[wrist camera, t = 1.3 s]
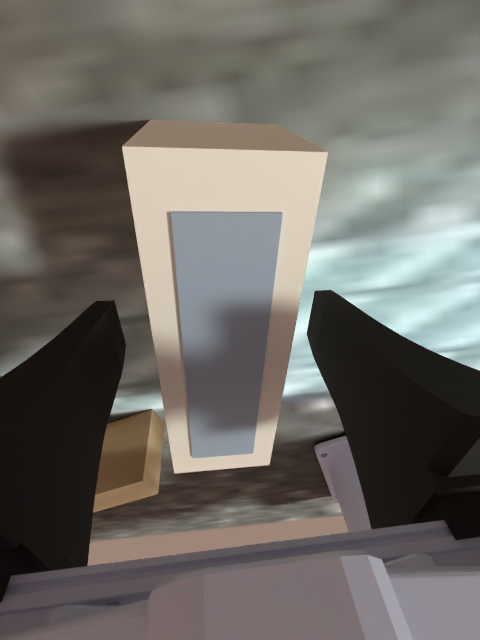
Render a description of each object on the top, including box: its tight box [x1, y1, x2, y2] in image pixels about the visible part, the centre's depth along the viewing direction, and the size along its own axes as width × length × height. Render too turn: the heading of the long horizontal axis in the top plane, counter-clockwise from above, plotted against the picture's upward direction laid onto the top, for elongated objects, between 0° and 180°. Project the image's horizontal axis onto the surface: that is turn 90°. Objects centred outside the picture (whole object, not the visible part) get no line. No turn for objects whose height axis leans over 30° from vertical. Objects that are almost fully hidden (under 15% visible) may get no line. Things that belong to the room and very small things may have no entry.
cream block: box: [122, 120, 328, 473], centre depth 12 cm, size 12×4×5 cm, turn 178°
